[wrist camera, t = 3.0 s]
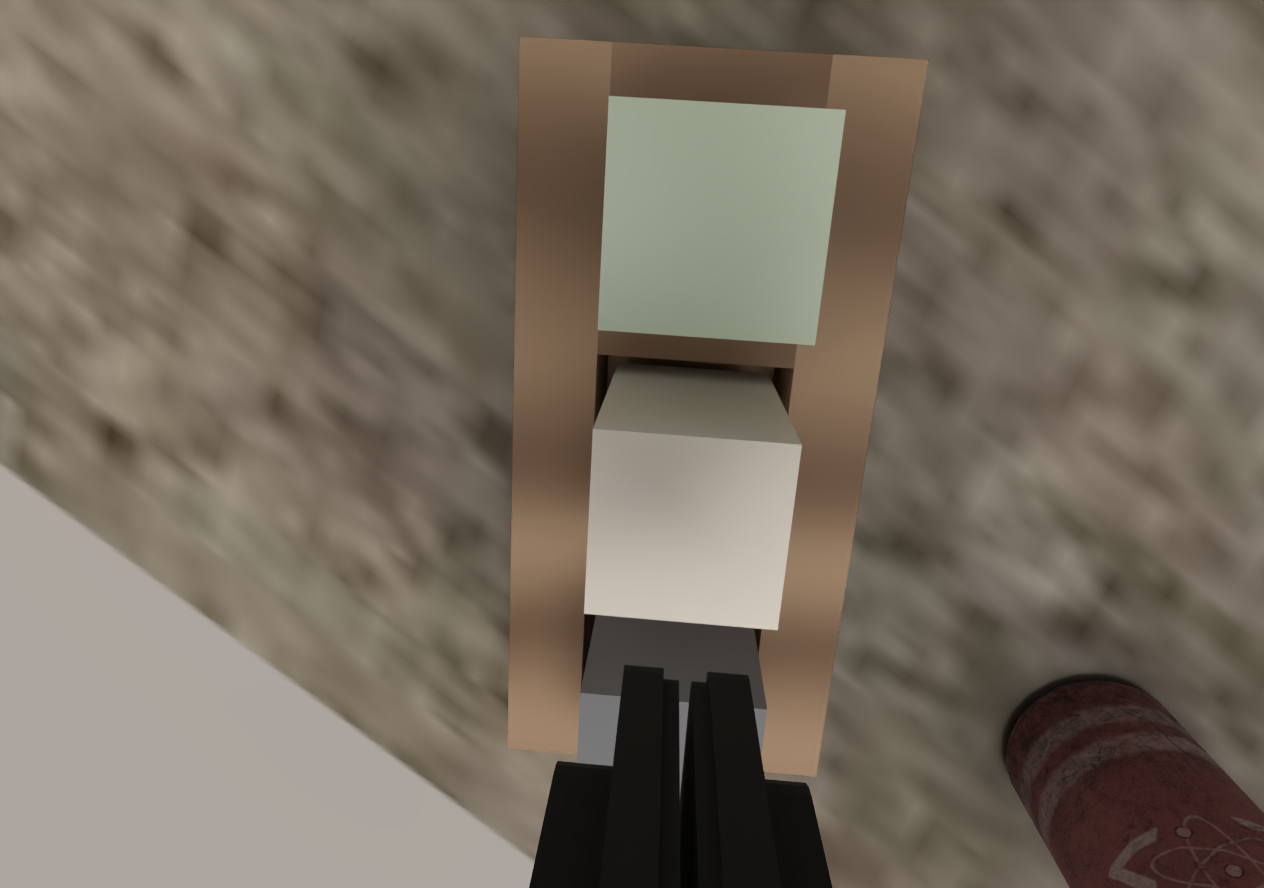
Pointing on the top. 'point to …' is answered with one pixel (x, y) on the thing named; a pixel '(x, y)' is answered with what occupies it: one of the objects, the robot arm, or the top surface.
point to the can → (1130, 794)
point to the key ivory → (690, 497)
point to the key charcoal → (665, 646)
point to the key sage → (717, 218)
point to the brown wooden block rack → (691, 357)
